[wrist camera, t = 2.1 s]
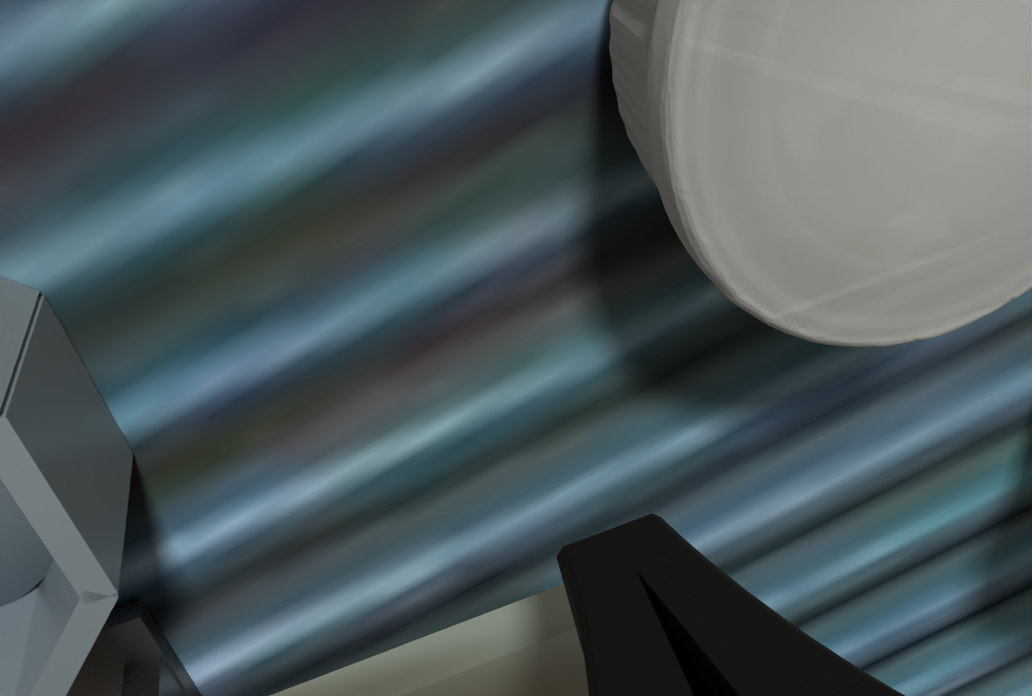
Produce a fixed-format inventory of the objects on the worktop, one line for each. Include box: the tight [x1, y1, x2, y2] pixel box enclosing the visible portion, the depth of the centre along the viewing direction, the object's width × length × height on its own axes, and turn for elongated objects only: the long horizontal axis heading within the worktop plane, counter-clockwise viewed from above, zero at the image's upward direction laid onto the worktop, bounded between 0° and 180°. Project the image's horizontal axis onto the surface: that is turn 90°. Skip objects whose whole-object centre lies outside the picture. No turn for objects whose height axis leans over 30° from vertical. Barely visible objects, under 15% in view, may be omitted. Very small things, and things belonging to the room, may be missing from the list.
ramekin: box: [609, 0, 1032, 347], centre depth 18 cm, size 11×11×5 cm
